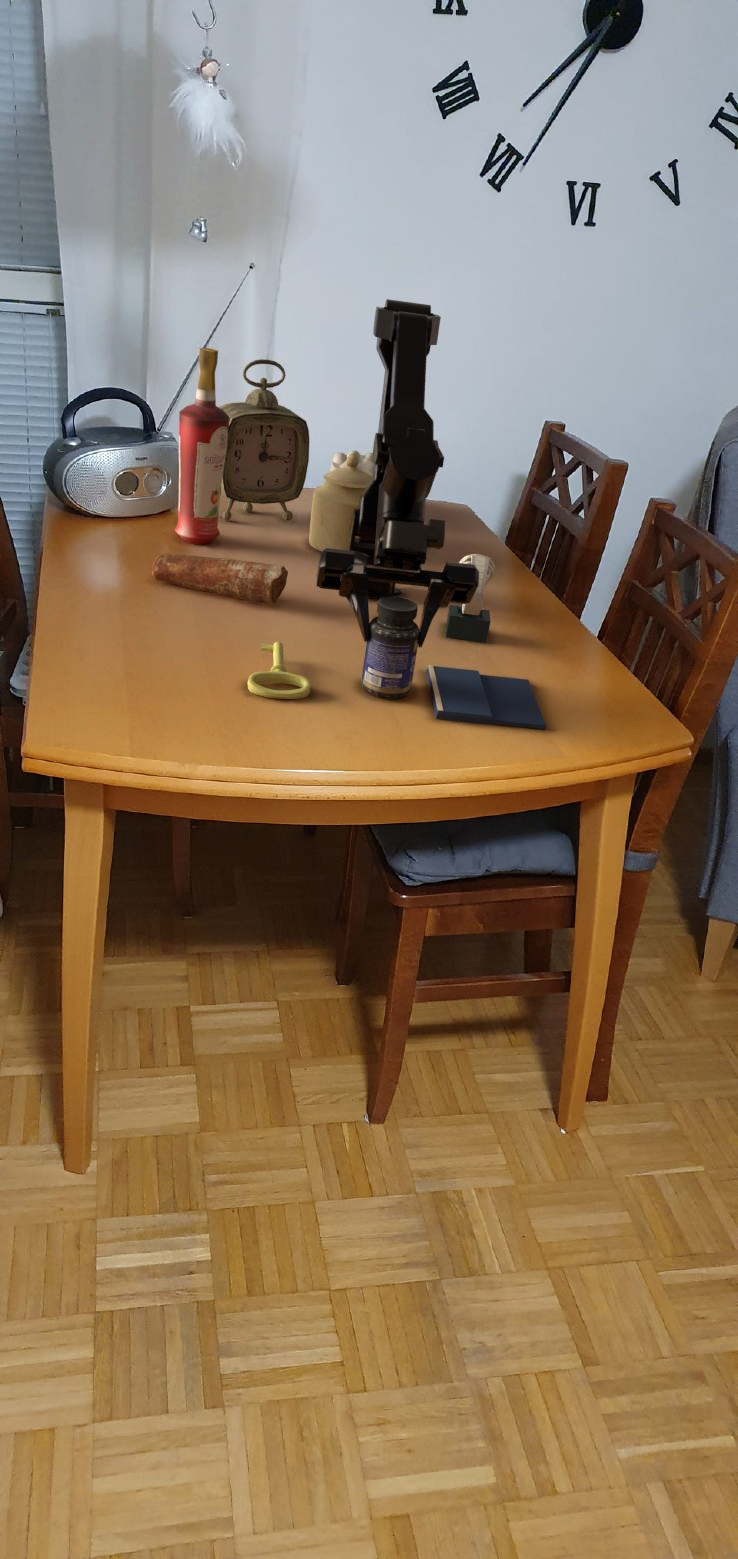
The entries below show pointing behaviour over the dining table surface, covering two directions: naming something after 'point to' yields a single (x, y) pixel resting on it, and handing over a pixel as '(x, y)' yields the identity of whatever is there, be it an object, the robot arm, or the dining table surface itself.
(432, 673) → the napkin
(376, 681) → the pill bottle
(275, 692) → the key
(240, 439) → the tabletop clock
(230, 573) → the brown rough cylinder
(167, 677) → the dining table surface
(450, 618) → the watch
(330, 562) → the robot arm
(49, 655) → the dining table surface
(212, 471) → the liquor
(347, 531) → the sugar bowl
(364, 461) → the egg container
